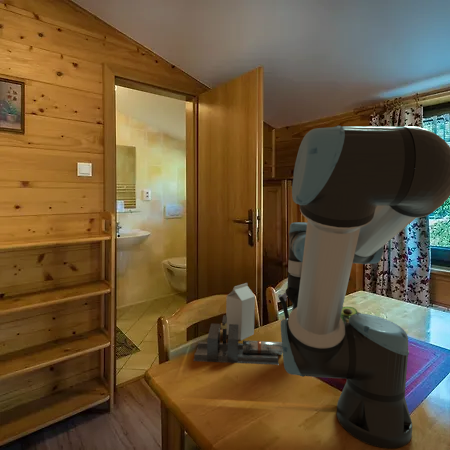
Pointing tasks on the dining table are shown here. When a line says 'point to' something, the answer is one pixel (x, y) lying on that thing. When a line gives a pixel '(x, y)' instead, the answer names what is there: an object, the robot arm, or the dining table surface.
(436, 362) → the dining table surface
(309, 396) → the dining table surface
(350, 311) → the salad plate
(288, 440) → the dining table surface
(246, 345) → the tube
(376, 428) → the robot arm
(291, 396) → the dining table surface
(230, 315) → the milk carton
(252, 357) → the collar rail
